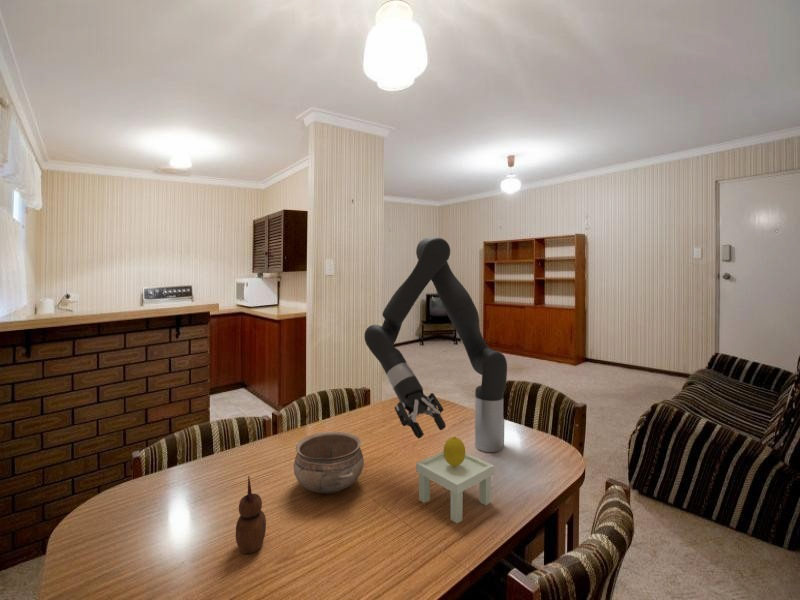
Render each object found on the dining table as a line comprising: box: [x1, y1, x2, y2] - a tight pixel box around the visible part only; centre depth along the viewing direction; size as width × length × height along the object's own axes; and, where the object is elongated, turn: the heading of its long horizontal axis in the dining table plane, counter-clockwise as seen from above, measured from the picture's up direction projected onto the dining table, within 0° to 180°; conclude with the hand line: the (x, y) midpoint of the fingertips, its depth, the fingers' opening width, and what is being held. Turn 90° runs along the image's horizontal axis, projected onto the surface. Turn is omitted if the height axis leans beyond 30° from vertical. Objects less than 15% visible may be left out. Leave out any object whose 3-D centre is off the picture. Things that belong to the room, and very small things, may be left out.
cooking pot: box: [293, 431, 365, 495], centre depth 108 cm, size 25×19×12 cm
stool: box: [415, 450, 495, 524], centre depth 101 cm, size 14×14×10 cm
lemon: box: [443, 436, 466, 467], centre depth 101 cm, size 6×6×8 cm
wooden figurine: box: [235, 475, 267, 554], centre depth 84 cm, size 7×6×15 cm
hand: (432, 432), depth 106 cm, fingers open, 8 cm apart
